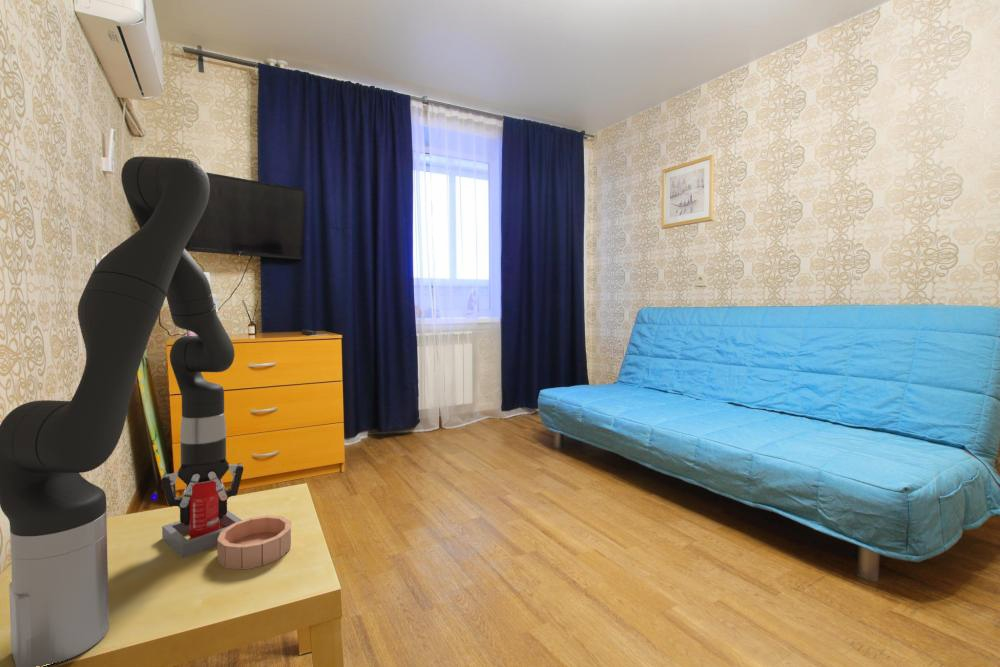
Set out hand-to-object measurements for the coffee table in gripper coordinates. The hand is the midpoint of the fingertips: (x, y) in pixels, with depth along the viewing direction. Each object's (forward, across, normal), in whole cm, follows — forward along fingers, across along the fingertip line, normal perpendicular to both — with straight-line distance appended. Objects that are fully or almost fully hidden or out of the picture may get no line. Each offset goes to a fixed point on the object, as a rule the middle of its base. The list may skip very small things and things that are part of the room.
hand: (204, 520), depth 89 cm
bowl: (+3, +8, -11) cm, 14 cm away
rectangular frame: (+3, 0, 0) cm, 3 cm away
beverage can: (+4, 0, 0) cm, 4 cm away
